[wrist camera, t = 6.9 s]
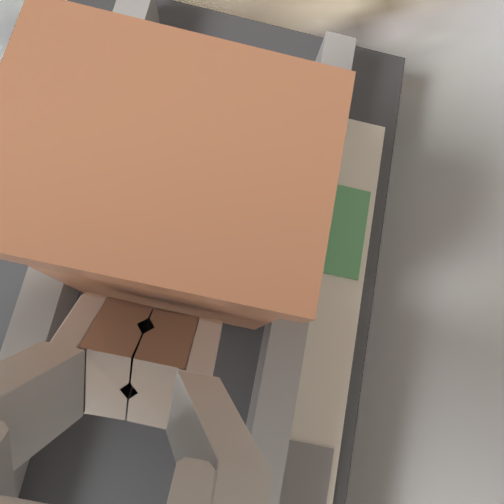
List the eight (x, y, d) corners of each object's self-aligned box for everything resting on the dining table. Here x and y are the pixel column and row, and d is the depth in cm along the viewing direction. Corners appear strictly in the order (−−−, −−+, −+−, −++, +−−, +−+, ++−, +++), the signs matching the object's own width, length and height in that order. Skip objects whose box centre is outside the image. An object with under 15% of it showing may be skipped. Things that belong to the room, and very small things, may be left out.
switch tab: (256, 337, 13) (315, 319, 6) (81, 300, 13) (-68, 238, 6) (280, 211, 14) (356, 71, 7) (118, 175, 14) (27, -10, 7)
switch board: (288, 748, 13) (318, 892, 9) (-137, 680, 12) (-271, 809, 9) (383, 89, 18) (424, 28, 15) (90, 18, 17) (62, -64, 14)
